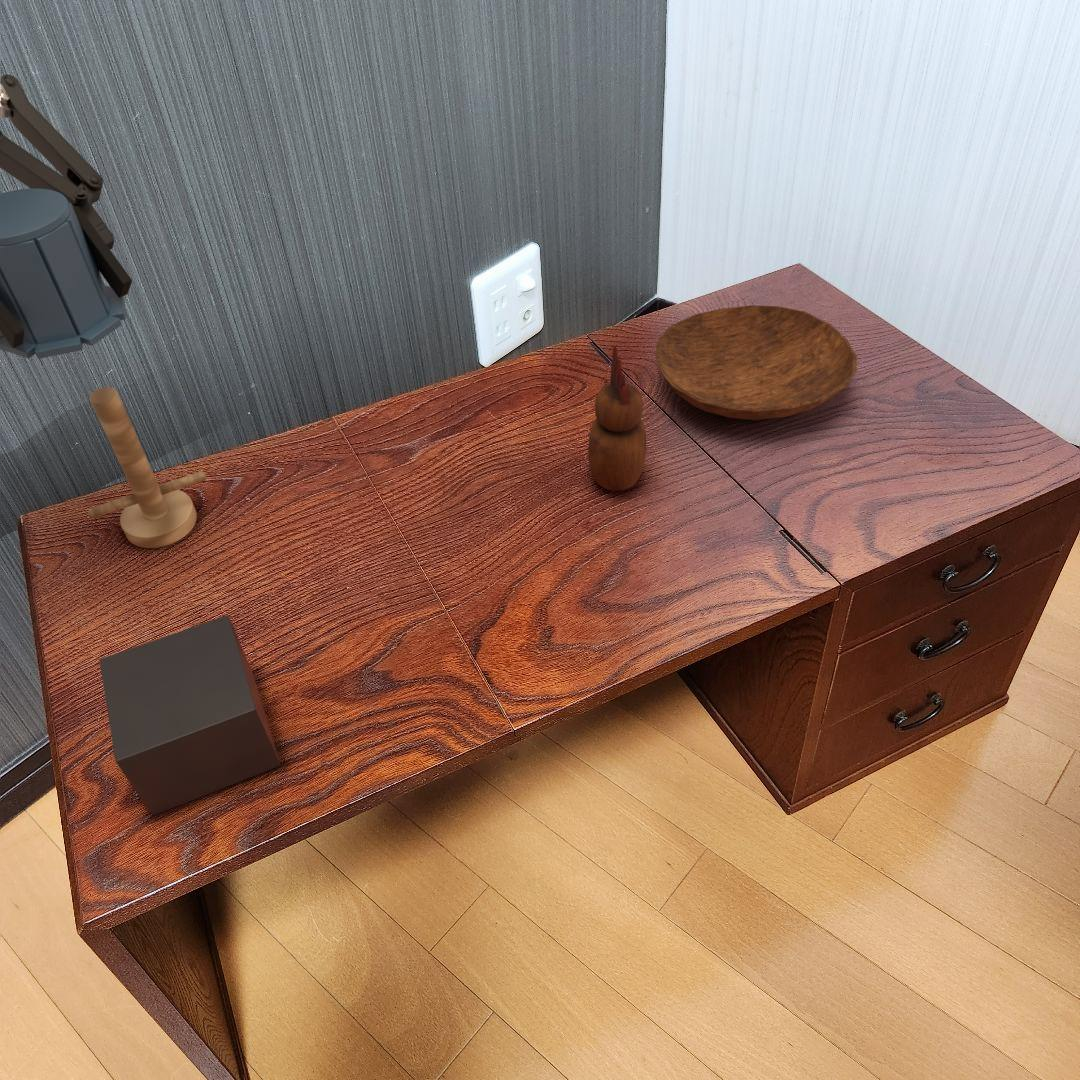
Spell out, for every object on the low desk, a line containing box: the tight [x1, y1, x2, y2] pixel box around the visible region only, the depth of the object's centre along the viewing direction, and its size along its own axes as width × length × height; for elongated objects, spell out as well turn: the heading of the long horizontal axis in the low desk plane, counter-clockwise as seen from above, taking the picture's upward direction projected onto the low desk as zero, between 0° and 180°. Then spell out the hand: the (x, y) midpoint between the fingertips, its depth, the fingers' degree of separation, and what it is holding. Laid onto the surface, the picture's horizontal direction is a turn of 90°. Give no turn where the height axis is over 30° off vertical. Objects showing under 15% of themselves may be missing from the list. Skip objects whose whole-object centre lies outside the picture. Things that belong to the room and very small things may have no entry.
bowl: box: [654, 304, 858, 421], centre depth 104 cm, size 20×22×5 cm
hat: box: [0, 188, 127, 360], centre depth 69 cm, size 10×10×9 cm
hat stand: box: [87, 386, 208, 549], centre depth 88 cm, size 11×7×16 cm, turn 118°
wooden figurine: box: [587, 344, 647, 492], centre depth 91 cm, size 7×6×15 cm
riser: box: [99, 614, 282, 817], centre depth 73 cm, size 10×10×8 cm
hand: (73, 313), depth 70 cm, fingers closed on hat, 8 cm apart
